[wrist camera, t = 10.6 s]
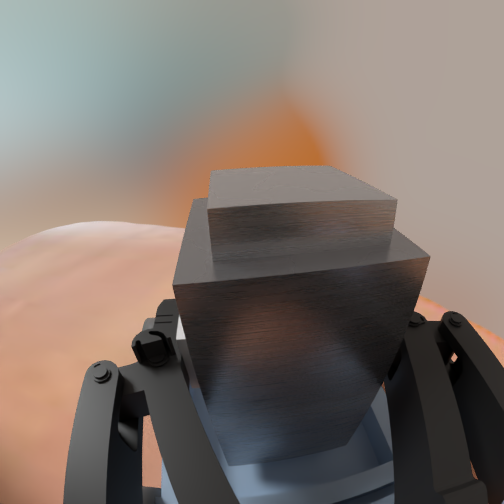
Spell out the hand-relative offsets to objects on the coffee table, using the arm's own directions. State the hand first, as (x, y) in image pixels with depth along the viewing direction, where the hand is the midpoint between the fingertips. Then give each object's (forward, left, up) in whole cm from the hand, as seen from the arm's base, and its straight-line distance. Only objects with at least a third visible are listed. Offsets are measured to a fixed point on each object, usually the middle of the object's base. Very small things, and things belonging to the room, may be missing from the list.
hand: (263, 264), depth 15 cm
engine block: (0, -5, -6) cm, 8 cm away
